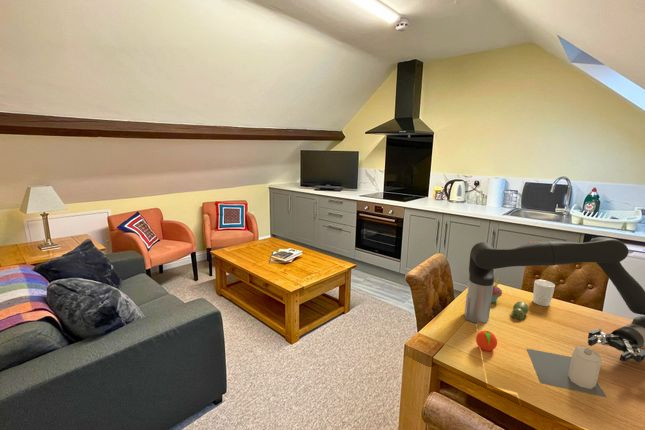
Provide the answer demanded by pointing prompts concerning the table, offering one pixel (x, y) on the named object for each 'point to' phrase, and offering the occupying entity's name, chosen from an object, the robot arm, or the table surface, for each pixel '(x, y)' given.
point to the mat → (557, 371)
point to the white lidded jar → (584, 367)
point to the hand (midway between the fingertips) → (605, 350)
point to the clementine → (486, 340)
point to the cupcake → (496, 292)
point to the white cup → (543, 292)
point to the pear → (519, 310)
